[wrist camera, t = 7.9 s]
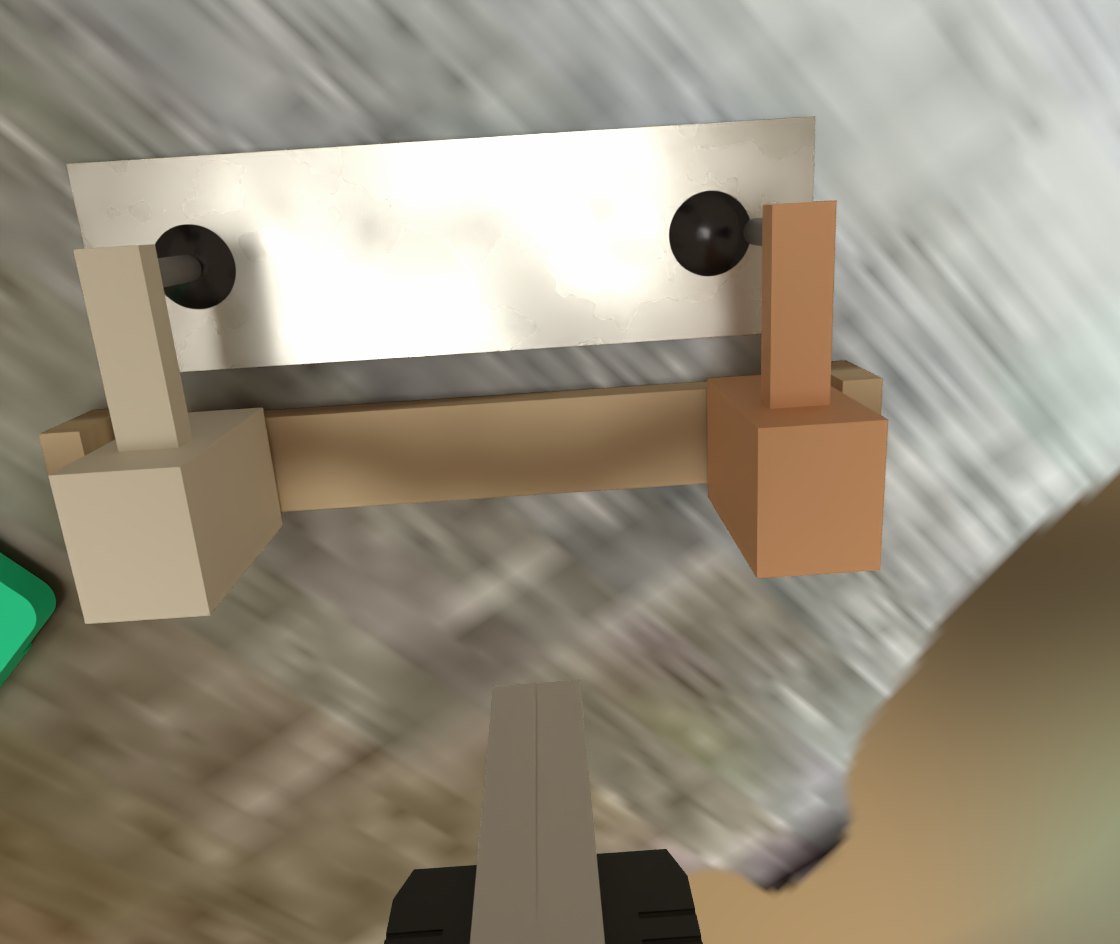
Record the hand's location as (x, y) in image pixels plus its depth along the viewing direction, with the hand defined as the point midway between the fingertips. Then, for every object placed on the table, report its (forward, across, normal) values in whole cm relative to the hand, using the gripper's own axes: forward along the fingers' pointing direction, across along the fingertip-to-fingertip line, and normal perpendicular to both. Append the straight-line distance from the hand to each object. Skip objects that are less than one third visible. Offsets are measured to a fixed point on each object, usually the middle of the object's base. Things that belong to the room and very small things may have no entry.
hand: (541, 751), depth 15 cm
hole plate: (+22, -3, +8) cm, 24 cm away
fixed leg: (+21, -13, +3) cm, 25 cm away
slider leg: (+21, +9, +3) cm, 23 cm away
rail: (+22, -3, 0) cm, 22 cm away
